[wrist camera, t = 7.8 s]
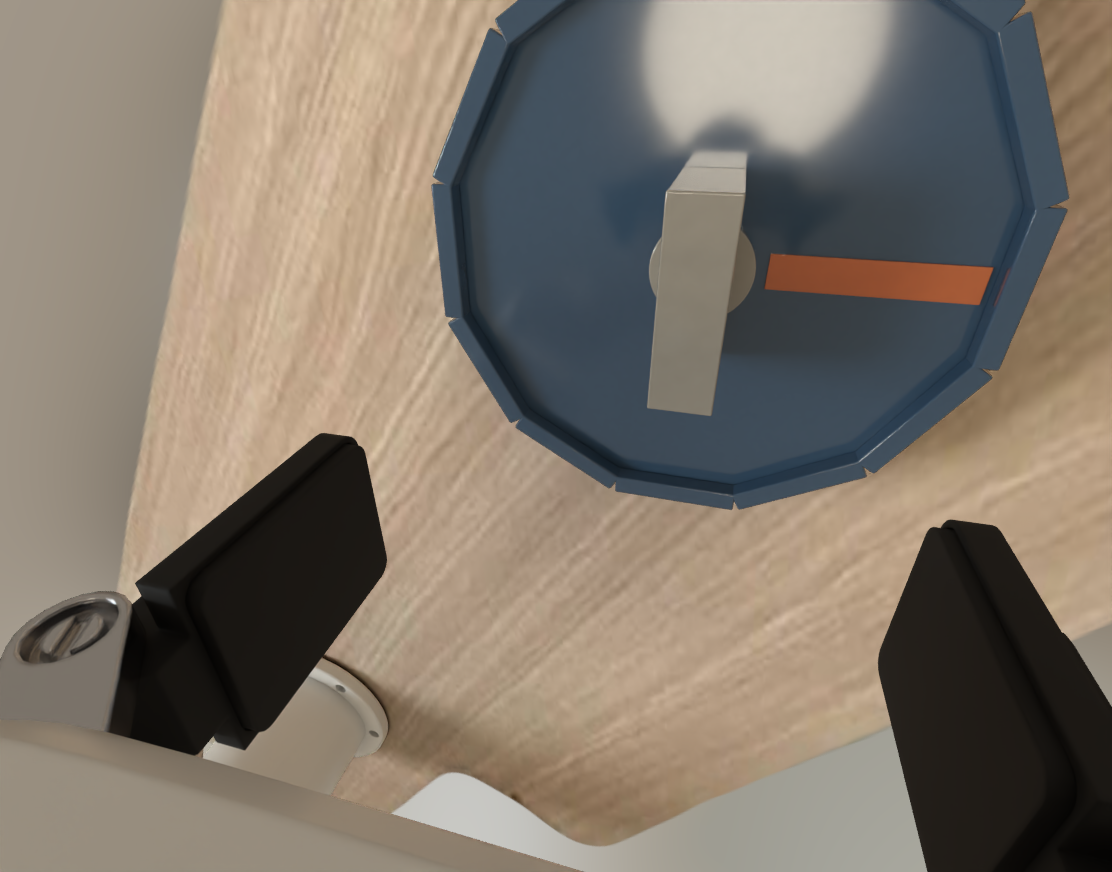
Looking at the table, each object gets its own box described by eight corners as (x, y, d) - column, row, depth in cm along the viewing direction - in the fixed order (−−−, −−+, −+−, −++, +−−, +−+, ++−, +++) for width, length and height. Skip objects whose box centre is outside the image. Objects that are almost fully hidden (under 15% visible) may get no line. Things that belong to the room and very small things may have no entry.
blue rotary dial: (474, 449, 29) (419, 523, 24) (425, -74, 18) (312, -128, 14) (916, 516, 24) (958, 625, 19) (1179, -131, 14) (1408, -242, 9)
